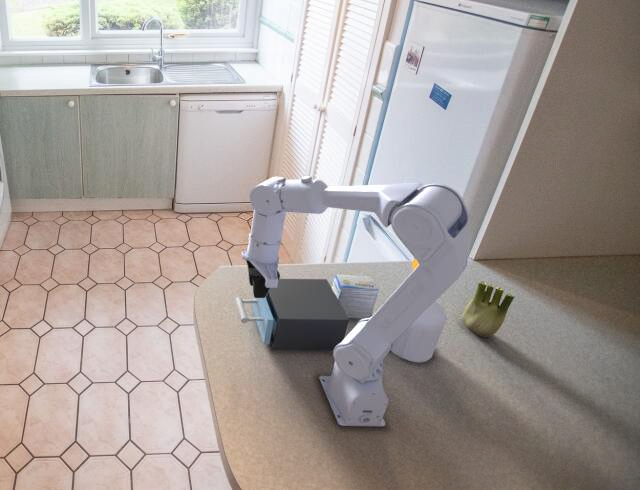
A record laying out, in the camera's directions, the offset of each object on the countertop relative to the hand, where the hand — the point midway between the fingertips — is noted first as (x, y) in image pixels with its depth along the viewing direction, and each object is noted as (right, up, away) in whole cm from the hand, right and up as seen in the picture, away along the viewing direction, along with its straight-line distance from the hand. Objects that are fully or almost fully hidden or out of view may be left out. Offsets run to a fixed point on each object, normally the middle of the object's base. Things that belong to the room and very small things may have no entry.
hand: (257, 290), depth 93 cm
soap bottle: (+31, -12, +1) cm, 33 cm away
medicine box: (+23, -8, +9) cm, 26 cm away
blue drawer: (+5, -9, +4) cm, 11 cm away
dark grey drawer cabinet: (+10, -9, +4) cm, 14 cm away
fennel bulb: (+48, -10, +4) cm, 49 cm away
